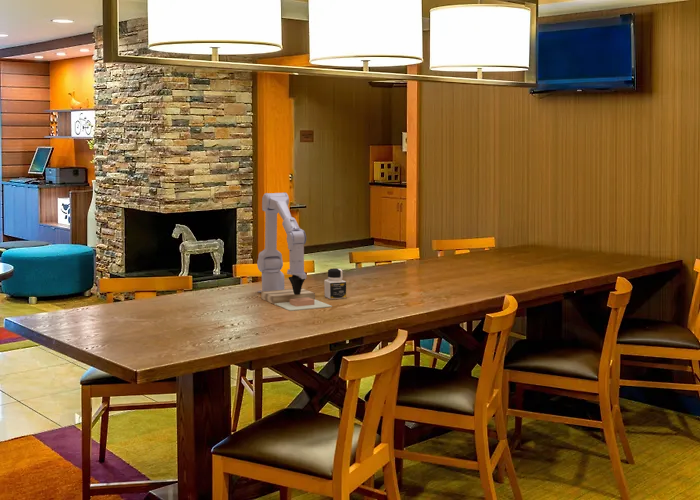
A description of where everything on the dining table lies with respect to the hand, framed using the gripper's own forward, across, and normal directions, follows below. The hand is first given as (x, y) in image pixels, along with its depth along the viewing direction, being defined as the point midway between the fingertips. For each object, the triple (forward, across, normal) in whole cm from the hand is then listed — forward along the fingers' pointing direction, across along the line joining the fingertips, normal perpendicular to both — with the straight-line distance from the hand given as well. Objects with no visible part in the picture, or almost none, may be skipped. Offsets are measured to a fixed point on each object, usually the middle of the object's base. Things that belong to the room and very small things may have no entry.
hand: (297, 294), depth 362 cm
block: (+1, +5, 0) cm, 5 cm away
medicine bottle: (+4, -5, +19) cm, 20 cm away
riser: (+4, -10, 0) cm, 10 cm away
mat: (+4, +6, 0) cm, 7 cm away
